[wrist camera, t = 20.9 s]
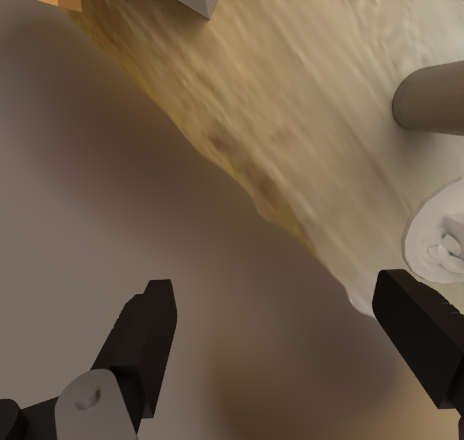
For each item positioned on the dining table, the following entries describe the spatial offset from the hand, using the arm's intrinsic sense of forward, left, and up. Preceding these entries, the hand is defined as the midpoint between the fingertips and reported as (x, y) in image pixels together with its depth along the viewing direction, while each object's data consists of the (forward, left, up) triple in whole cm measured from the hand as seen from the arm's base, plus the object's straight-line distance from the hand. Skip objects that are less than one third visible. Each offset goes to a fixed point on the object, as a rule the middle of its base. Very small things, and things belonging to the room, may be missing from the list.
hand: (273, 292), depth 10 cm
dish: (-45, +19, -39) cm, 62 cm away
